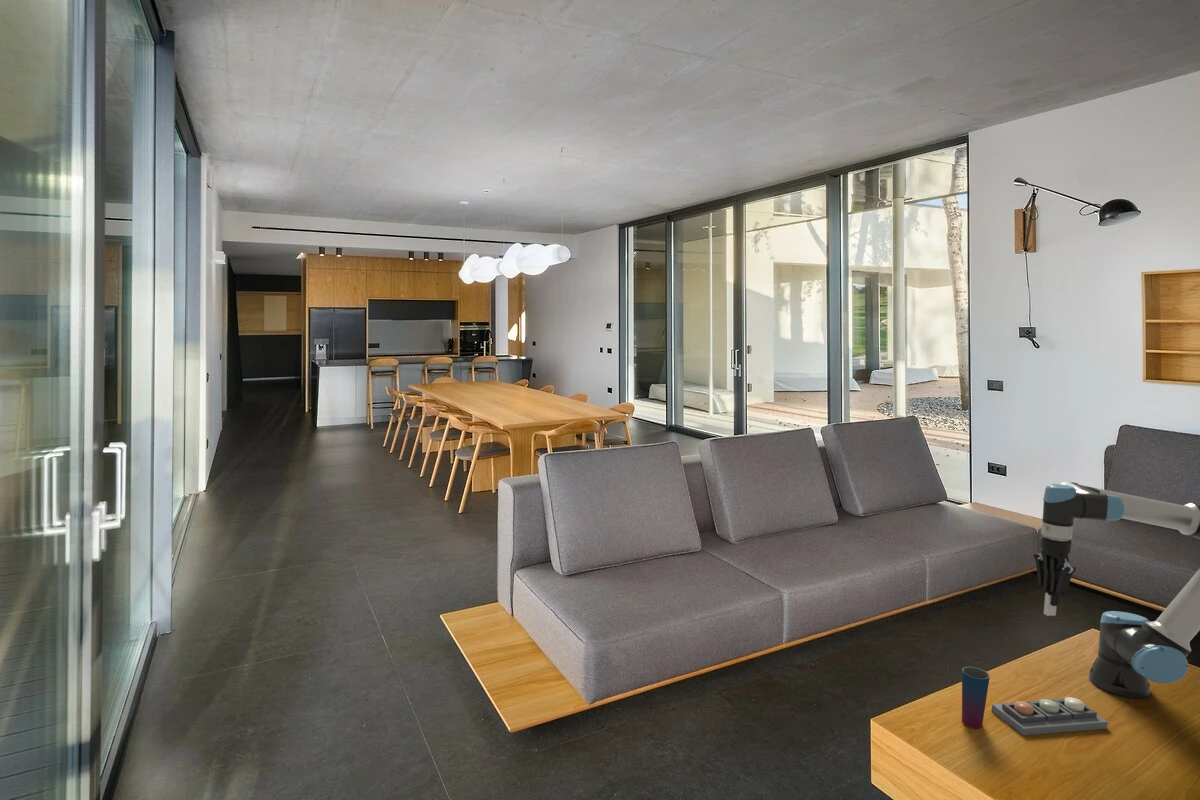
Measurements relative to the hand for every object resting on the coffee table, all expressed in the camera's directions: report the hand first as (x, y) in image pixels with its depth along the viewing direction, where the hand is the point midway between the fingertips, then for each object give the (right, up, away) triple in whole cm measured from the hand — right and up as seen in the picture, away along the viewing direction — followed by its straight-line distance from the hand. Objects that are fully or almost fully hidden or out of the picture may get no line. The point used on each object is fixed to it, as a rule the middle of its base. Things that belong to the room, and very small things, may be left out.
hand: (1049, 614), depth 199 cm
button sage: (-6, -25, -8) cm, 27 cm away
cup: (-29, -28, -10) cm, 41 cm away
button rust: (-14, -25, -9) cm, 30 cm away
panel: (-6, -27, -8) cm, 29 cm away
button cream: (+2, -25, -7) cm, 26 cm away
